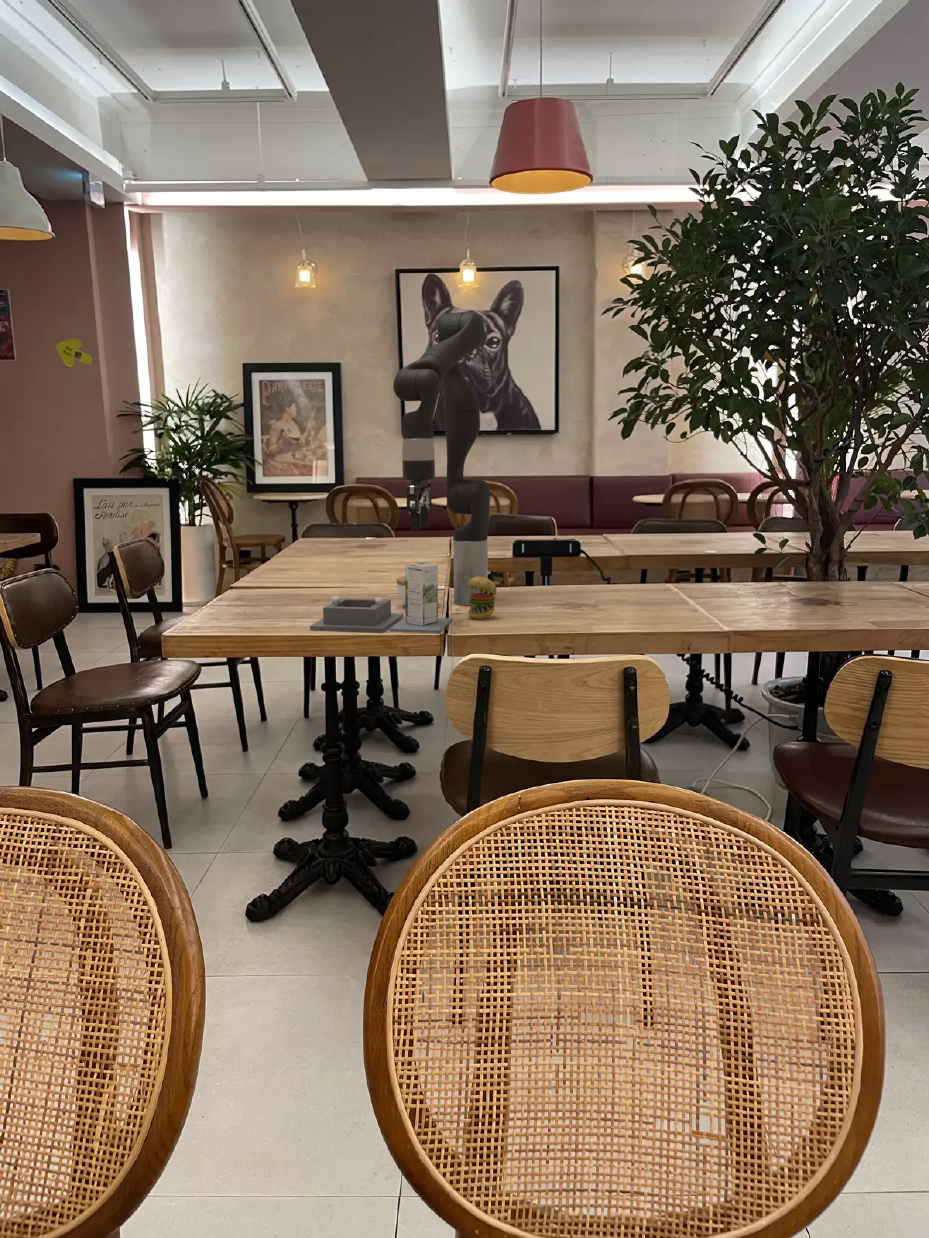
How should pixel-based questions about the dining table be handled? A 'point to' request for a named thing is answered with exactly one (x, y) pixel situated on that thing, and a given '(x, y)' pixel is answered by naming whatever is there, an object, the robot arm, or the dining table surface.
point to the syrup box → (421, 593)
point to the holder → (357, 615)
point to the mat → (430, 628)
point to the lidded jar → (401, 588)
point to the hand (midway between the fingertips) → (420, 528)
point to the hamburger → (481, 597)
